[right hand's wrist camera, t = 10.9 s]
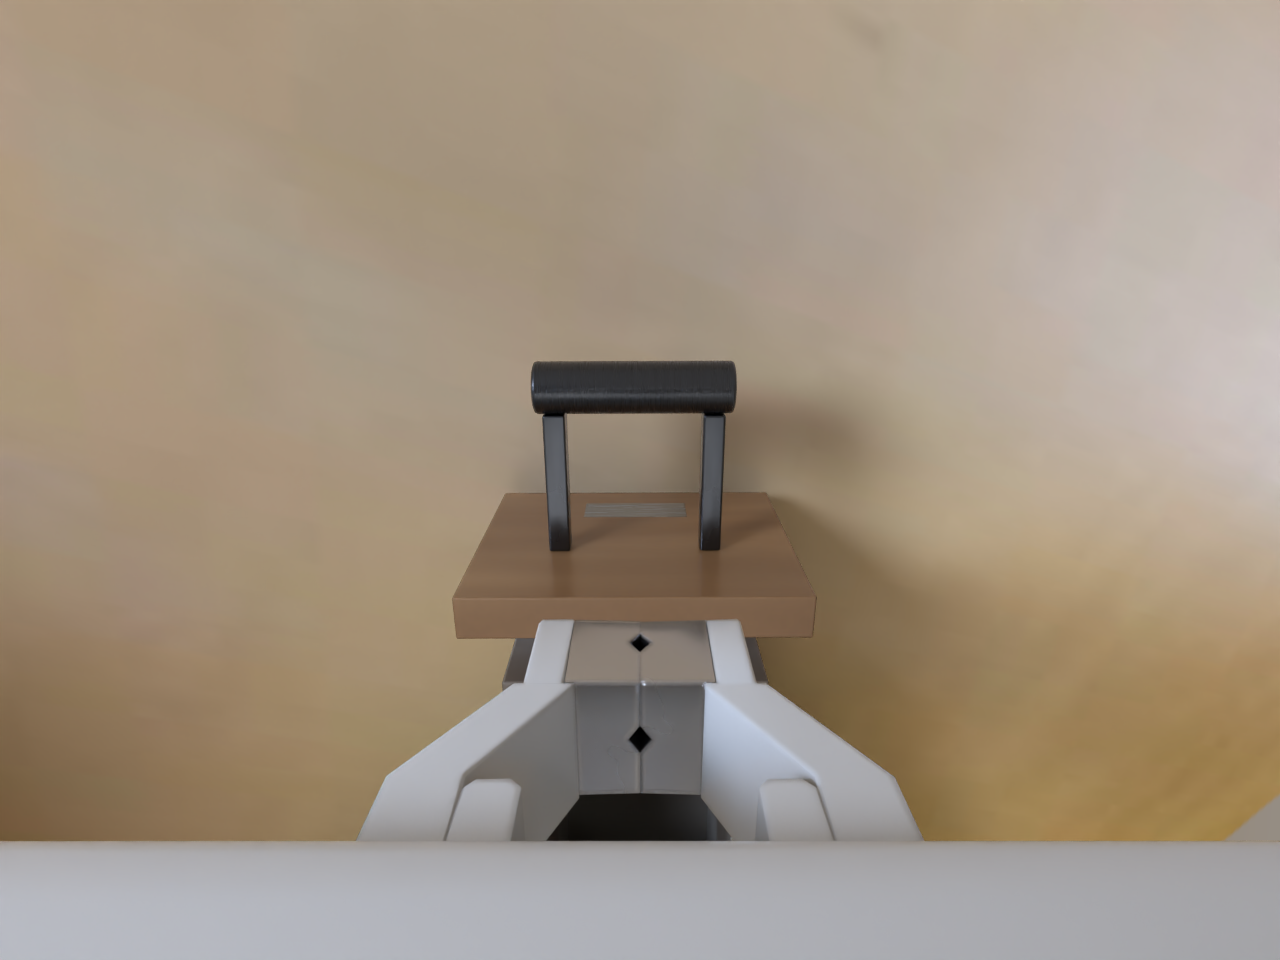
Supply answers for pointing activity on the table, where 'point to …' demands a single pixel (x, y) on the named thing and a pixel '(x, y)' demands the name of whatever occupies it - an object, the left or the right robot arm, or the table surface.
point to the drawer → (634, 559)
